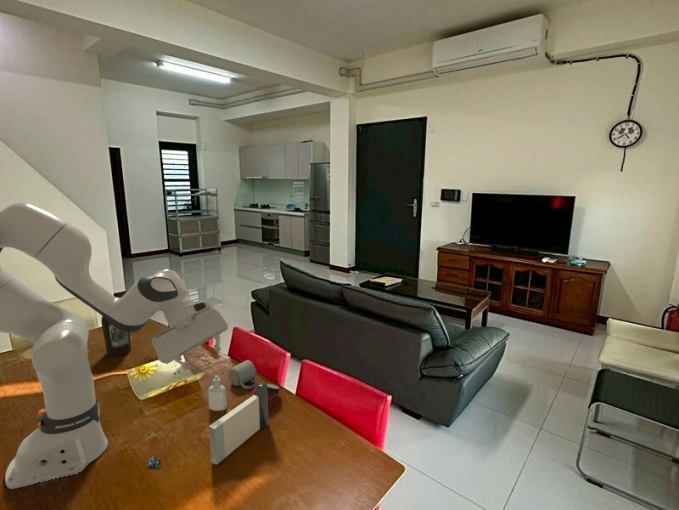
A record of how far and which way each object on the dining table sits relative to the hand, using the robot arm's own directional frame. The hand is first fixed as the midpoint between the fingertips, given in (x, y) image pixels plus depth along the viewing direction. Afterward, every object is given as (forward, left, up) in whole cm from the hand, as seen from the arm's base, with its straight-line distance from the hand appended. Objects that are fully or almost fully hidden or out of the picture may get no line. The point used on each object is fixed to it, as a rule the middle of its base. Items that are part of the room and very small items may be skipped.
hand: (203, 359), depth 103 cm
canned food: (+23, +13, -27) cm, 38 cm away
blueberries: (-14, 0, -27) cm, 31 cm away
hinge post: (+17, -1, -27) cm, 31 cm away
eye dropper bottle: (+7, +16, -27) cm, 32 cm away
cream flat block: (+7, -6, -26) cm, 27 cm away
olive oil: (-19, +82, -27) cm, 88 cm away
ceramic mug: (+20, +26, -27) cm, 43 cm away
